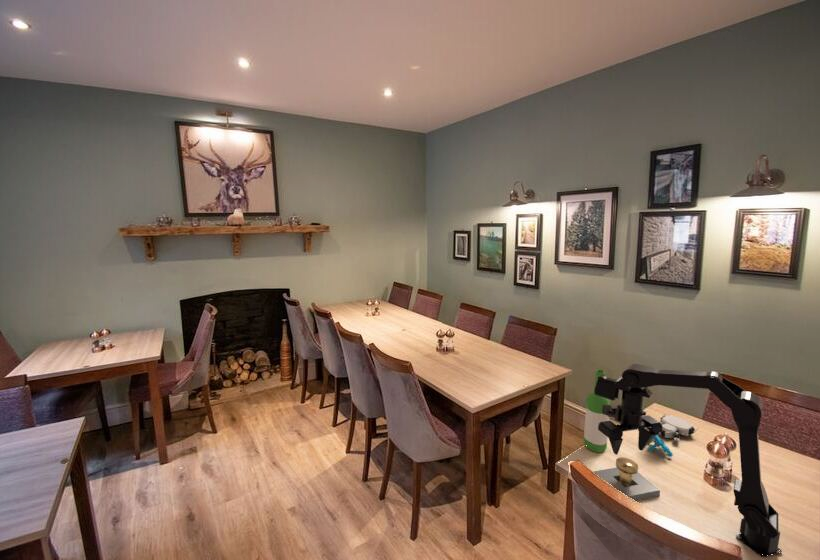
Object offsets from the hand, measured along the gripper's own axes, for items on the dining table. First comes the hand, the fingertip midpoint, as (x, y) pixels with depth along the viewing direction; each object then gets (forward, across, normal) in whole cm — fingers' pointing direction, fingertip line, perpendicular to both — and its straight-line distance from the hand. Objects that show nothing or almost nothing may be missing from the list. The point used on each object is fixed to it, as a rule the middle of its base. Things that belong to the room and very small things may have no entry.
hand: (627, 451), depth 115 cm
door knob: (+12, 0, 0) cm, 12 cm away
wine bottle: (+12, -5, -20) cm, 24 cm away
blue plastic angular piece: (+12, -26, -13) cm, 32 cm away
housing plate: (+12, 0, 0) cm, 12 cm away
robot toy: (+12, -41, -21) cm, 48 cm away
